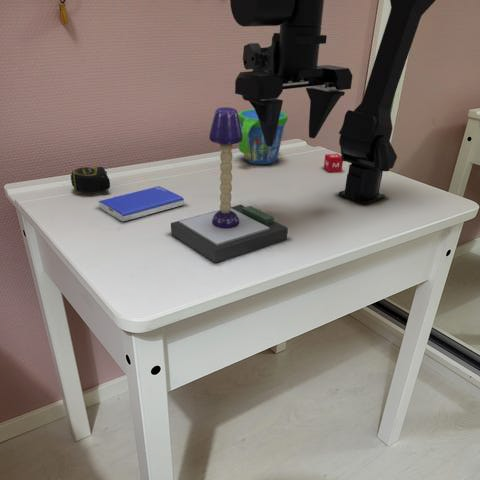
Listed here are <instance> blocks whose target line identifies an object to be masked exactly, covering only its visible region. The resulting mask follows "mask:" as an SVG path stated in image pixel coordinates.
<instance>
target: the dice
mask: <svg viewBox="0 0 480 480" xmlns="http://www.w3.org/2000/svg"><path fill="white" fill-rule="evenodd" d="M343 163H344V161H342V157H341V154H339V153H327V154H326V153H325V154H324V162H323V169H324V170H325V171H327V172H328V173H339V172H341V173H342V172H343V171H342V170H343Z"/></svg>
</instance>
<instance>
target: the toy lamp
mask: <svg viewBox="0 0 480 480" xmlns="http://www.w3.org/2000/svg"><path fill="white" fill-rule="evenodd" d="M238 115H239V113H238V111H237V109H236V108H233V107H227V106H226V107H218V108H216V109H215V111H214V114H213V118H212V122H211V127H210V131H209V140H210V142H212V143H214V144H218V145H219V148H220V155H219V157H220V164H219V165H220V167H219V168H220V172H221V173H220V175H219V179H220V185H219V189H220V194H219V200H220V204H219V210H220V211H218V210H217V211H218V212H217V213H216V214H215V215H214V216H213V219H212V223H213V225H214V226H216V227H219V228H233V227H236V226H238V225H239V218H238V216H237V214H236V213H234V212H233V211H230V210H231V207H232V204H231V202H232V190H233V185H232V181H233V174H232V171H233V163H232V161H233V152H232V150H233V147H234V145H235V144H239V142H241V141H242V131H241V124H240V122H239V117H238Z"/></svg>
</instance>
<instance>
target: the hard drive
mask: <svg viewBox="0 0 480 480" xmlns="http://www.w3.org/2000/svg"><path fill="white" fill-rule="evenodd" d="M184 199H185V198H184V197H183V196H182V195H179V194H177V193H175V192H173V191H171V190H169V189H167V188H164V187H162V186H161V185H158V186H154V187H149V188H146V189H142V190H137V191H132V192H130V193H126V194H121V195H117V196H112V197H109V198H105V199H102V200H101V199H100V200H99V201H98V207H99V209H100V210H102V211H104V212H105V213H107V214H108V215H110V216H112V217H114V218H115V219H117V220H119V221H120V222H126V221H130V220H134V219H137V218H141V217H146V216H148V215H151V214H152V215H153V214H155V213H159V212H163V211H167V210H170V209H173V208H177V207H181V206H184V205H185V200H184Z"/></svg>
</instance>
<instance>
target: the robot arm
mask: <svg viewBox="0 0 480 480" xmlns="http://www.w3.org/2000/svg"><path fill="white" fill-rule="evenodd" d="M436 1H437V0H389V2H390V12H389V15H388V18H387V21H386V24H385V27H384V30H383V33H382V37H381V39H380V43H379V45H378V50H377V53H376V55H375V60H374V61H373V62H374V63H373V64H372V65H373V66H372V68H371V71H370V74H369V78H368V80H367V83H366V87H365V91H364V94H363V97H362V100H361V102H360V104H359V105H358V106H357V107H355V109H354V110H350V109H348V110H346V112H345V114H344V118H343V121H342V126H341V128H340V129H339V131H338V134H339V140H338V144H339V147H340V156H341V157H342V161H343V162H347V163H348V164H349V166H348V170H347V174H346V180H345V187H344V190H340V191H338V196H341V197H343V198H346V199H349V200H351V201H353V202H355V203H359V204H362V205H367V204H371V203H373V202H377V201H379V200H382V199H385V198H386V194H383V193H380V189H381V183H382V178H383V173H384V172H390V169H393V168H394V166H395V164H396V161H397V159H398V155H397V153H396V151H395V149H394V147H393V146H392V143H391V136H392V132H393V129H394V128H393V122H392V116H391V107H392V103H393V102H394V98H395V95H396V91H397V89H398V86H399V83H400V81H401V77H402V74H403V71H404V68H405V66H406V63H407V60H408V56H409V53H410V51H411V48H412V45H413V42H414V39H415V36H416V33H417V31H418V27H419V24H420V21H421V18H422V17H423V15H424V14H425V13H426V12H427V11H428V10H429V9H430V7H431V6H432V5H433V4H434V3H435V2H436ZM229 3H230V10H231V15H232V17H233V19H234V21H235V22H236V23H237V24H238V25H239V26H241V27H244V28H245V27H278V26H279V32H273V35H272V37H271V45H269V46H266V47H262V46H261V45H260V43H258V42H253V43H252V42H250V43H247V44H245V45H243V50H242V51H243V52H242V63H243V67H244V69H245V70H250V71H240V72H239V73H238V75H237V76H236V78H235V81H234V94H235V95H240V96H241V97H242V100H244V101H247V102H249V103H250V105H251V106H252V108H253V109H255V111H256V114H257V116H258V119H259V123H260V126H261V130H262V133H263V137H264V140H265V144H266V146H269V147H272V145H273V142H274V139H275V135H276V131H277V126H278V121H279V117H280V112H282V107H283V102H284V99H279V97H280V96H281V94H282V93H283V91H284V90H292V89H300V88H305V91H306V93H307V96H308V98H309V102H310V104H309V117H308V118H309V119H308V137H309V139H316V137H317V136H318V134H319V132H320V131H321V129H322V127H323V126H324V124H325V122H326V120H327V119H328V117H329V115H330V114H331V112H332V111H333V109H334V108H335V106H336V104H337V103H338V102H339V100H340V99H341V98H342V97H344V96H345V94H346V91H344V90H351V89H352V83H353V77H354V76H353V73H352V72H351V69H350V68H349V67H342V66H337V65H331V64H322V65H318V63H319V53H320V45H325V44H327V38H328V37H327V36H328V35H327V34H322V24H323V13H324V5H325V0H229Z"/></svg>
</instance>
